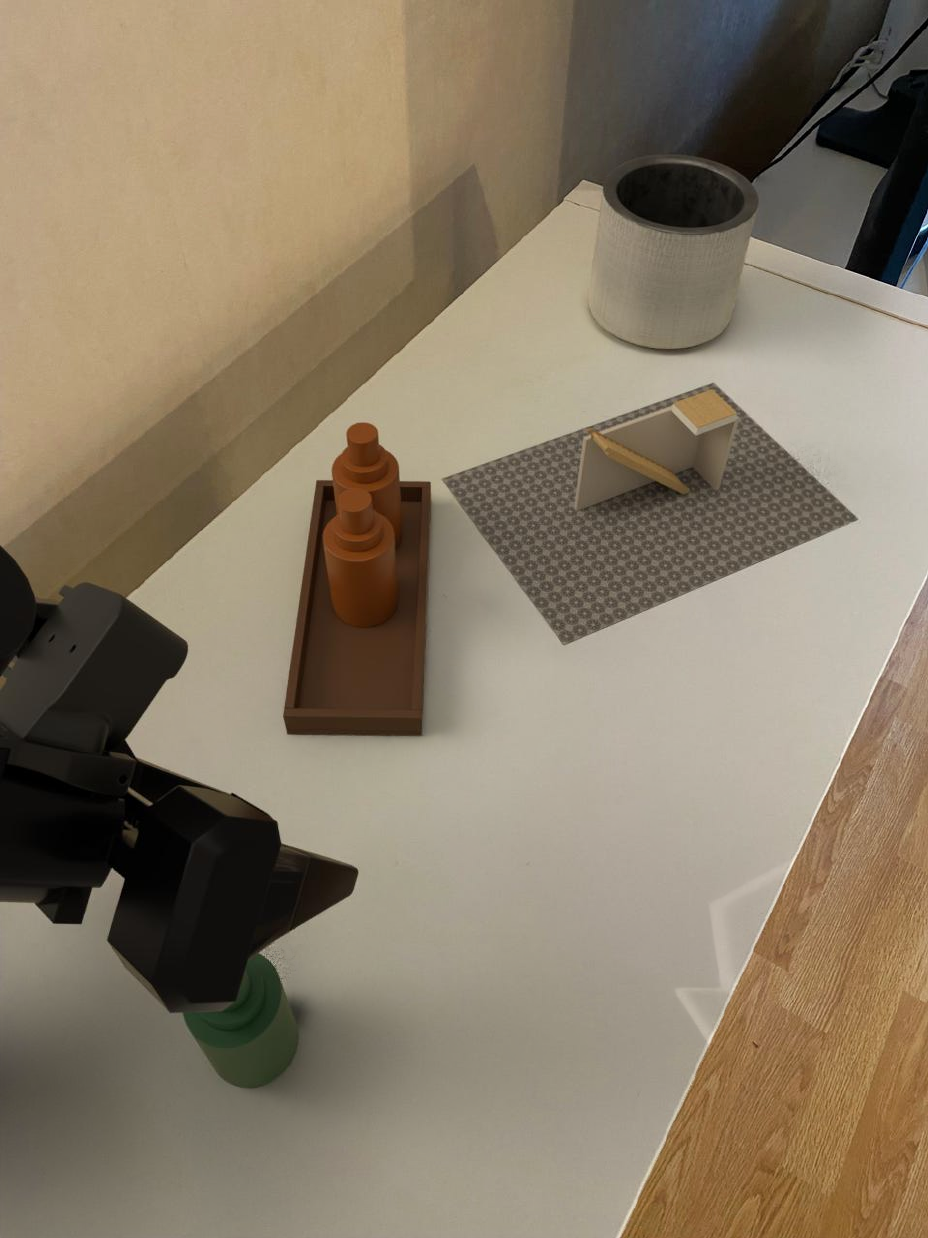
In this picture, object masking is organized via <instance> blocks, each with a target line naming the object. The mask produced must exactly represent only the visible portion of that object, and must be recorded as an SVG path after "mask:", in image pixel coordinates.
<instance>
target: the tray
mask: <svg viewBox="0 0 928 1238" xmlns="http://www.w3.org/2000/svg"><path fill="white" fill-rule="evenodd" d="M400 495H401V514H402V533H403V537H402V541H401V543H400V545H399V546H398V548H397V549H396V550H395V553H396V569H397V585H398V606H397V609H396V611H395V612H394V614H393V615H392V616H391V617H390V618H389V619H388V620H387V621H385V622H383V623H381V624H379V625H376V626H372V627H355V626H351V625H349V624H346V623H345V622H343V621H342V620H340V619H339V618H338V617H337V616H336V614H335V612H334V610H333V607H332V601H331V593H330V586H329V579H328V572H327V565H326V558H325V551H324V544H323V532H324V530H325V527H326V526H327V524H328V523H329V522H330V521H331V520H332V519H333V518H335V517H336V515H337V511H336V503H335V495H334V487H333V479H316V481H315V488H314V495H313V502H312V509H311V516H310V523H309V529H308V536H307V544H306V550H305V559H304V564H303V565H304V566H303V571H302V572H303V573H302V580H301V587H300V593H299V601H298V607H297V614H296V622H295V629H294V635H293V644H292V649H291V651H292V652H291V658H290V664H289V671H288V676H287V677H288V679H287V684H286V691H285V692H286V693H285V699H284V708H283V713H282V718H283V721H284V726H285V730H286V731H285V732H286V735H331V736H332V735H337V736H338V735H341V736H343V735H344V736H345V735H346V736H349V735H350V736H351V735H352V736H418V737H419V736H420V737H421V736H422V735H423V726H424V725H423V724H424V723H423V721H424V699H425V698H424V695H425V674H426V673H425V672H426V671H425V669H426V667H425V666H426V645H427V644H426V643H427V623H428V622H427V619H428V618H427V616H428V615H427V614H428V595H429V594H428V593H429V592H428V591H429V566H430V545H431V544H430V542H431V541H430V540H431V519H432V518H431V516H432V515H431V514H432V483H431V481H426V480H425V481H424V480H423V481H420V480H419V481H418V480H417V481H416V480H413V481H411V480H400Z"/></svg>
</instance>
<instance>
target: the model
mask: <svg viewBox="0 0 928 1238" xmlns="http://www.w3.org/2000/svg"><path fill="white" fill-rule="evenodd" d="M739 421H740V417H739V416H738V412H737V411H736V410H735V409H734V408H733V407H731V406H730V405H729V404H728V403H727V402H726V401H725V400H724V399H723V398H722V397H721V396H720V395H719V394H718V393H717V392H716V391H715V390H714V389H712V388H711V389H708V390H706V391H703V392H700V393H697V394H694V395H692V396H689V397H686V398H683V399H680V400H678V401H675V402H673V403H672V405H670V406H667V407H664V408H661V409H659V410H656V411H653V412H650V413H647V414H645V415H642V416H639V417H636V418H633V419H631V420H628V421H625V422H622V423H619V424H617V425H614V426H611V427H608V428H605V429H603V430H600V431H597V430H595V429H593V428H588V429H587V430H586V434H587V435H586V436H583V437H582V445H581V452H580V460H579V467H578V474H577V482H576V489H575V497H574V504H573V508H574V509H575V510H576V511H579V510H582V509H583V508H587V507H590V506H591V505H594V504H598V503H599V502H602V501H605V500H607V499H610V498H613V497H615V496H618V495H621V494H624V493H626V492H629V491H632V490H633V489H636V488H640V487H641V486H644V485H647V484H650V483H652V482H655V481H656V482H658V483H660V484H662V485H664V486H666V487H668V488H670V489H672V490H674V491H676V492H678V493H680V494H682V495H685V494H687V493H689V492H690V491H691V489H690V488H689V487H687V486H686V485H684V483H683V482H682V481H681V480H680V479H679V478H678V477H677V476H676V475H675V474H676V473H678V472H681V471H684V470H687V469H689V468H692V467H693V468H694V469H695V470H696V471H697V472H698V473H699V474H700V475H701V476H702V477H703V478H704V479H705V481H706V482H708V484H709V485H711V487H712V488H714V490H715V491H716V490H718V489H719V488H720V487H721V484H722V480H723V477H724V473H725V470H726V466H727V463H728V459H729V456H730V452H731V449H732V445H733V442H734V438H735V435H736V431H737V428H738V424H739Z"/></svg>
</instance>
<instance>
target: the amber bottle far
mask: <svg viewBox="0 0 928 1238" xmlns="http://www.w3.org/2000/svg"><path fill="white" fill-rule="evenodd" d="M345 432H346V433H345V434H346V435H345V436H346V443H347V445H346V447H345V448H344V449H343V451H342V452H341V453H340V454H339V455H337V457H336V458H335V459H334V461H333V463H332V466H331V478H332V479H331V480H333V487H334V495H335V503H336V511H337V514H338V513H339V505H338V498H339V496H340V495H341V493H343V492H344V491H346V490H348V489H351V488H360V489H364V490H366V491H367V492H369V494H370V495H371V497H372V506H373V510H374V511H376V512H377V513H379V514H380V515H382V516H384V517H385V518H386V519H387V520H388V521H389V522H390V523H391V525H392V527H393V529H394V537H395V550H396V549H397V548H398V546H399V545H400V543H401V541H402V537H403V533H402V514H401V495H400V481H401V479H400V465H399V461H398V460H397V458H396V457H395V456H394V455H393V454H392V453H391V452H390V451H389V450H387V449H385V448H384V446H383V445H381V444H380V440H379V439H380V438H379V430H378V428H377V427H376V426H375V425H374V424H372V423H369V422H356V423H354V424H352V425H350V426H349V427H348V428H347V429H346V431H345Z"/></svg>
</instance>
